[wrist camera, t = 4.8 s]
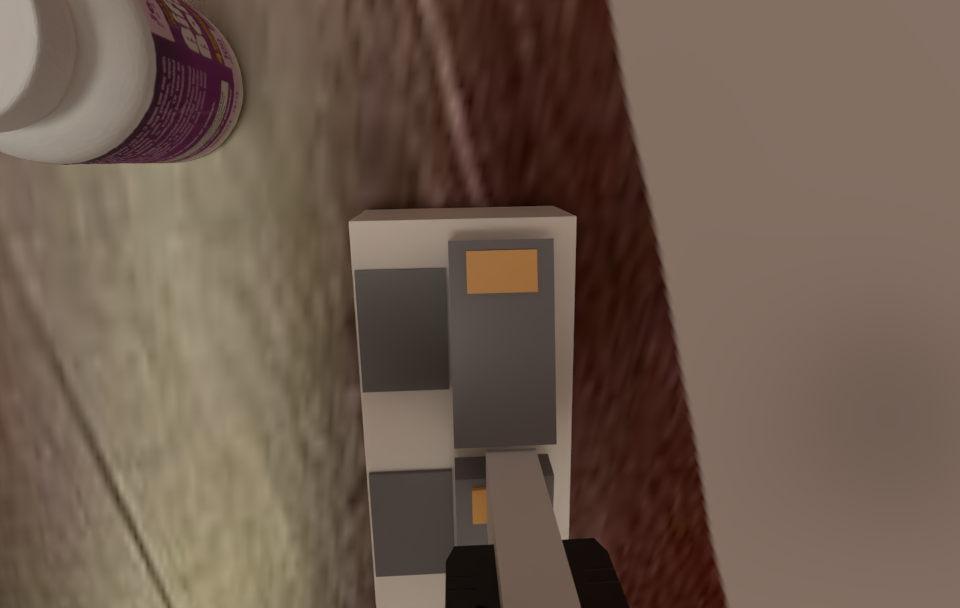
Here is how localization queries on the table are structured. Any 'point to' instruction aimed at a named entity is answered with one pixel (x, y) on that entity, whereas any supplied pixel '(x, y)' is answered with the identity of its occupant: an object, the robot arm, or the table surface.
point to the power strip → (435, 381)
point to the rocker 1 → (503, 342)
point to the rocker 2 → (481, 497)
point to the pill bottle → (114, 82)
